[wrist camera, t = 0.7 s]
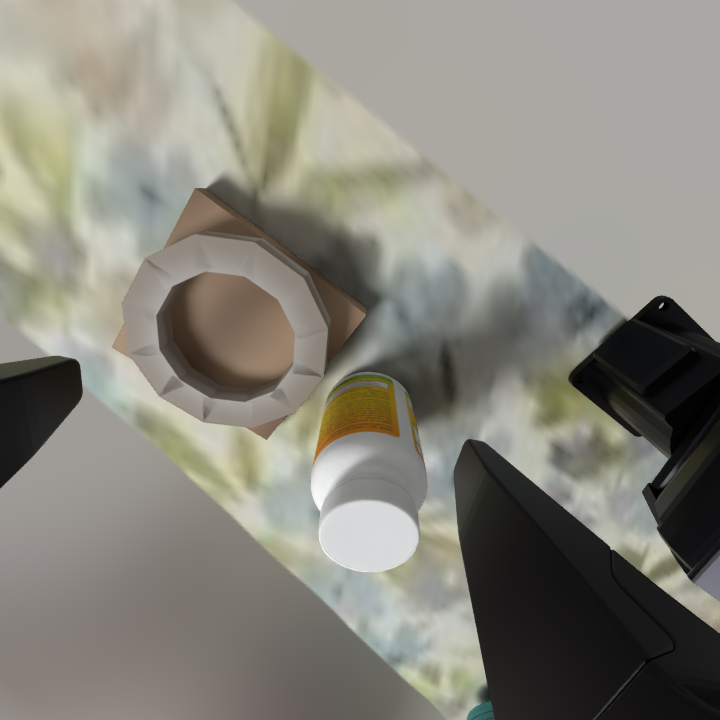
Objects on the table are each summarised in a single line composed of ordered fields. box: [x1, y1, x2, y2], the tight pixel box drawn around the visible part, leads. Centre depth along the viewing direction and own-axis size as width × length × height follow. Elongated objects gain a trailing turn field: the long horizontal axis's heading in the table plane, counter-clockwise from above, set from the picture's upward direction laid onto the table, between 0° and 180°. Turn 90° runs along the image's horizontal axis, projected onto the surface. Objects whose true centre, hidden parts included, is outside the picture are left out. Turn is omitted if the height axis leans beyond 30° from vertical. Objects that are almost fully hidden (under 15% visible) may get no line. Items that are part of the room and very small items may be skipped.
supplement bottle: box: [311, 372, 427, 572], centre depth 19 cm, size 5×5×10 cm
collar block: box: [112, 188, 367, 440], centre depth 20 cm, size 10×10×3 cm
